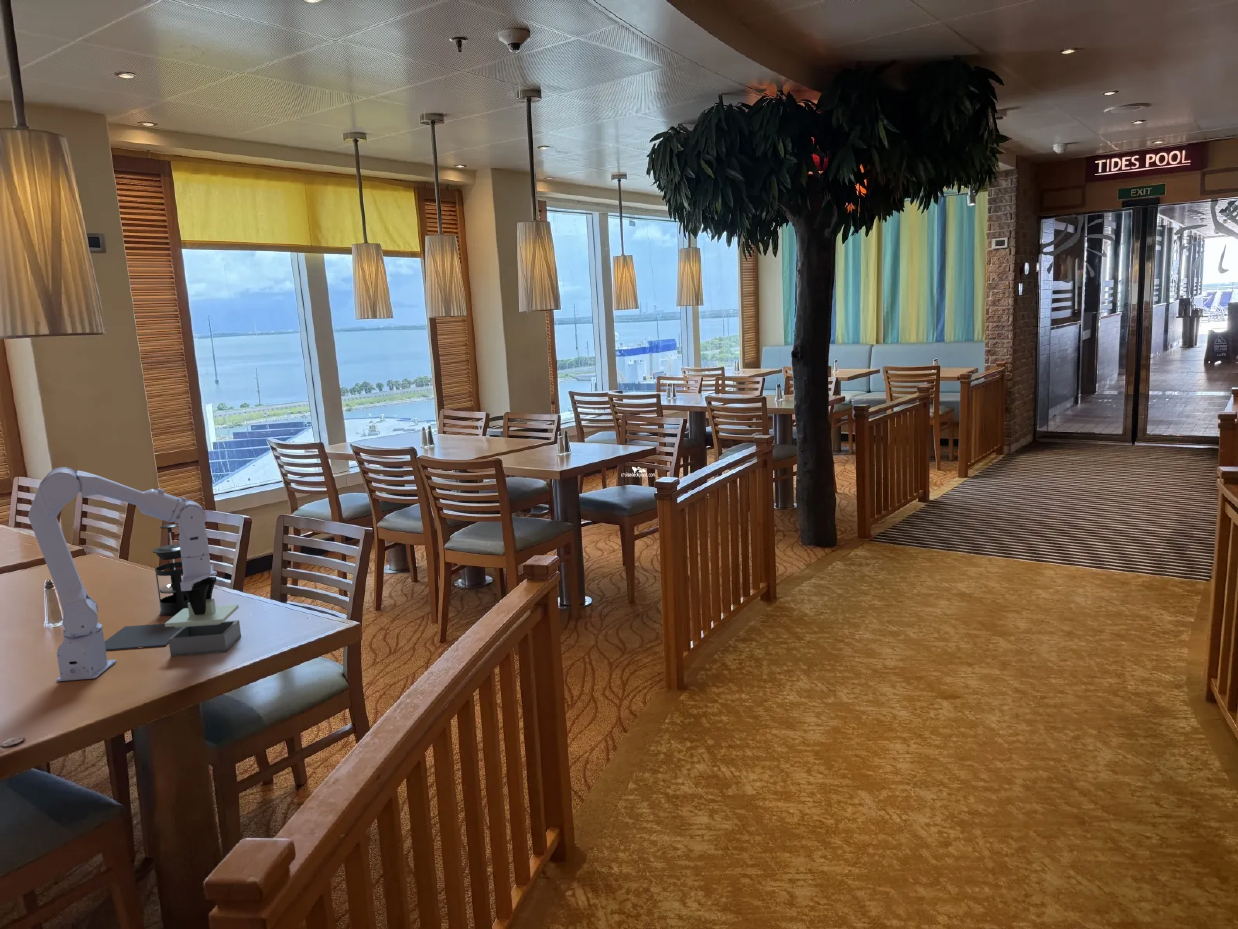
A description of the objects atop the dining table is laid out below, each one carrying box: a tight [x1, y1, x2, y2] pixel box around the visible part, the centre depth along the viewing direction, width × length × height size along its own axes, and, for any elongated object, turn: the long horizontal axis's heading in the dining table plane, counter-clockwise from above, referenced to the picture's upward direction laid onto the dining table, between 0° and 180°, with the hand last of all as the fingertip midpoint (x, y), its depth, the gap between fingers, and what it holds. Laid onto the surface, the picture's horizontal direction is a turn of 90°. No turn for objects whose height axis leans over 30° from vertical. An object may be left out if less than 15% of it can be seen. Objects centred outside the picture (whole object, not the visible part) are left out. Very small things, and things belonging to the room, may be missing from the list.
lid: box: [164, 598, 240, 628], centre depth 195 cm, size 10×12×5 cm
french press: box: [152, 523, 189, 617], centre depth 223 cm, size 12×9×23 cm
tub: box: [168, 619, 242, 657], centre depth 196 cm, size 10×12×4 cm
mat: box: [104, 623, 182, 651], centre depth 205 cm, size 16×16×1 cm
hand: (202, 612), depth 195 cm, fingers closed on lid, 2 cm apart
